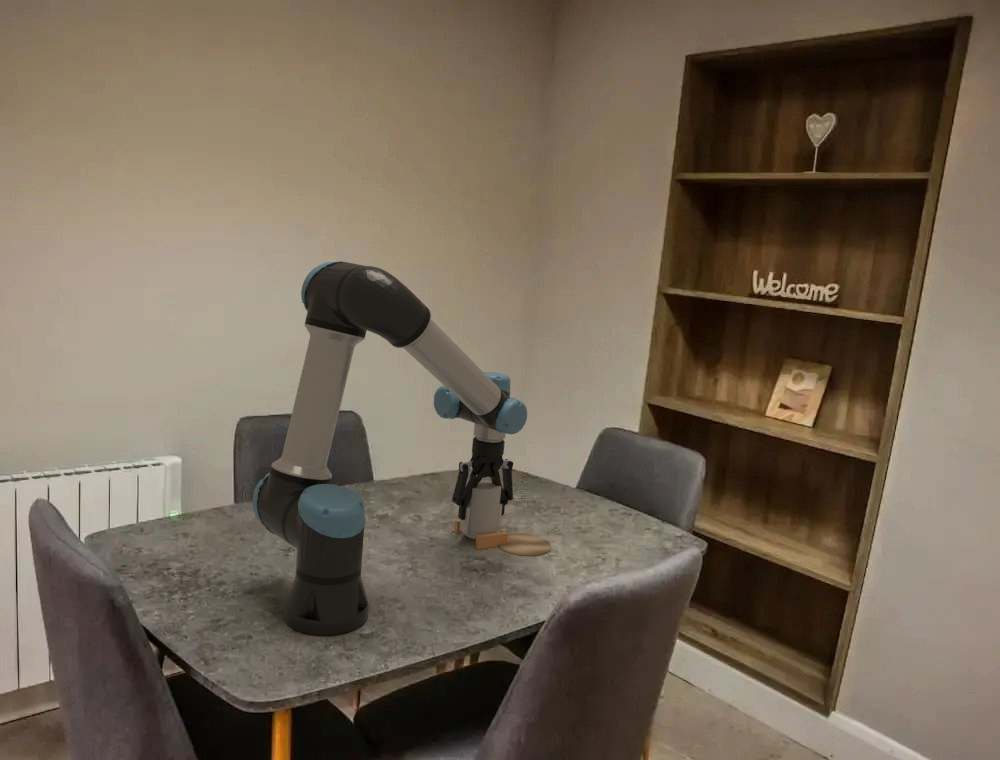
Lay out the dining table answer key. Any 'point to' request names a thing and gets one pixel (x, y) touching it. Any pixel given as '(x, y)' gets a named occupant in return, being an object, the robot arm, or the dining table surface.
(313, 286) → the robot arm
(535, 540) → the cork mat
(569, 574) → the dining table surface
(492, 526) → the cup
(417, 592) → the dining table surface
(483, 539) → the bars
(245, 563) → the dining table surface
